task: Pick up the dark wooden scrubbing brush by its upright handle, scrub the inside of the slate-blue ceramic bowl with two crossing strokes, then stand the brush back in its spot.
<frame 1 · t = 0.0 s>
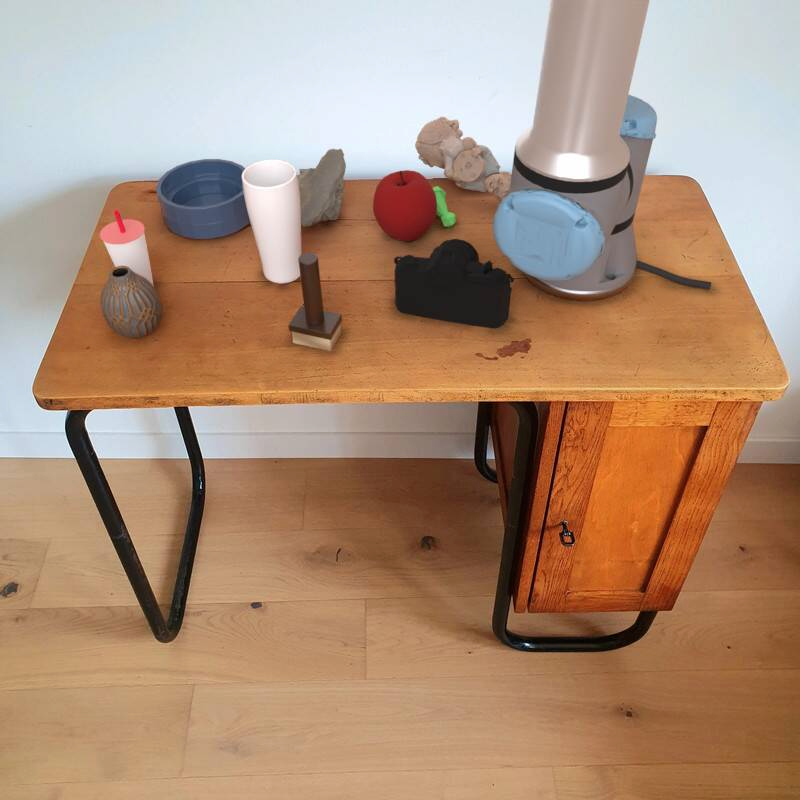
game piece: (430, 197, 113), point 2 cm above the table, touching apple
brush: (317, 338, 95), on the table
drinking glass: (283, 274, 104), on the table
bowl: (211, 216, 114), on the table
film camera: (453, 301, 100), on the table
vase: (139, 329, 97), on the table
cup: (140, 289, 102), on the table
figurine: (432, 135, 120), point 5 cm above the table
apple: (405, 232, 110), on the table, touching game piece
grey rock: (314, 214, 114), on the table
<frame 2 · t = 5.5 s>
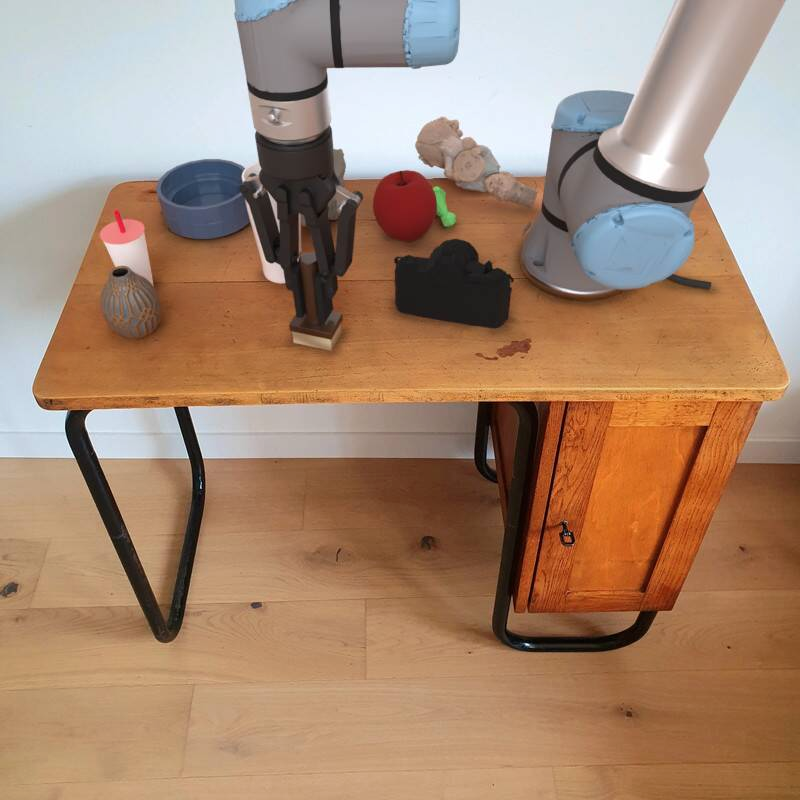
hand: (314, 312, 92), 4 cm above the table, tool pointing down, fingers closed on brush, 2 cm apart
brush: (317, 337, 95), on the table, touching gripper
everything else where it was.
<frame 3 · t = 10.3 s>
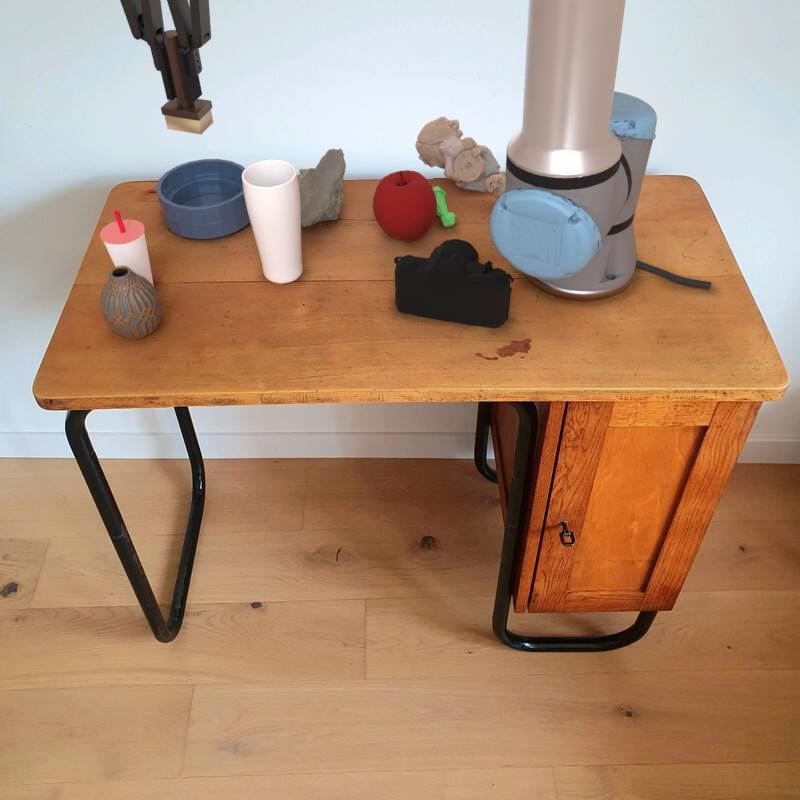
hand: (184, 96, 100), 18 cm above the table, tool pointing down, fingers closed on brush, 2 cm apart
brush: (190, 125, 103), point 14 cm above the table, touching gripper
everything else where it was.
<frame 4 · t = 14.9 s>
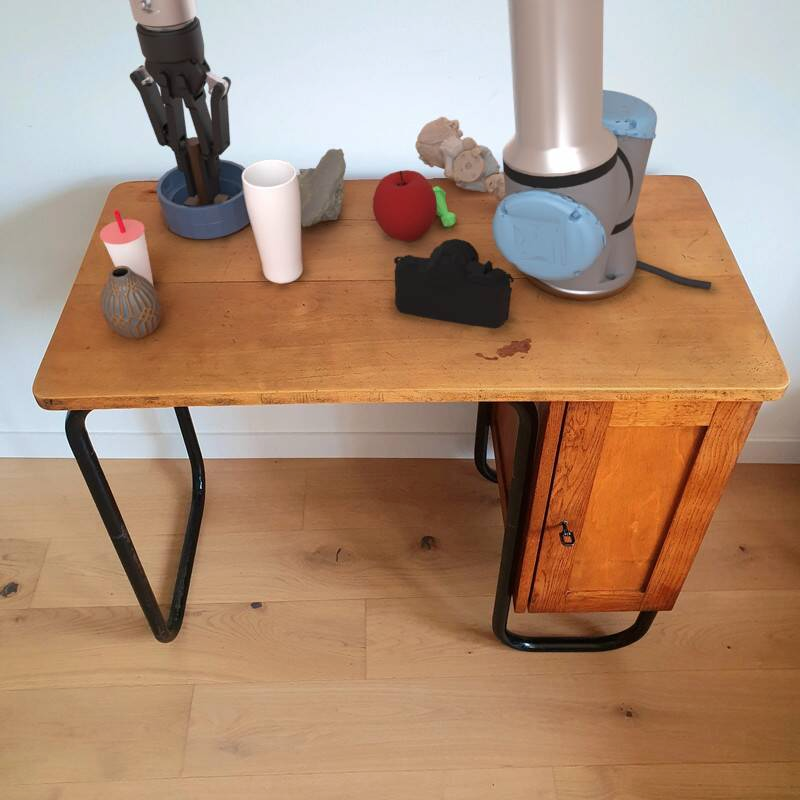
hand: (205, 193, 109), 5 cm above the table, tool pointing down, fingers closed on brush, 2 cm apart
brush: (210, 217, 112), point 1 cm above the table, touching gripper
everything else where it was.
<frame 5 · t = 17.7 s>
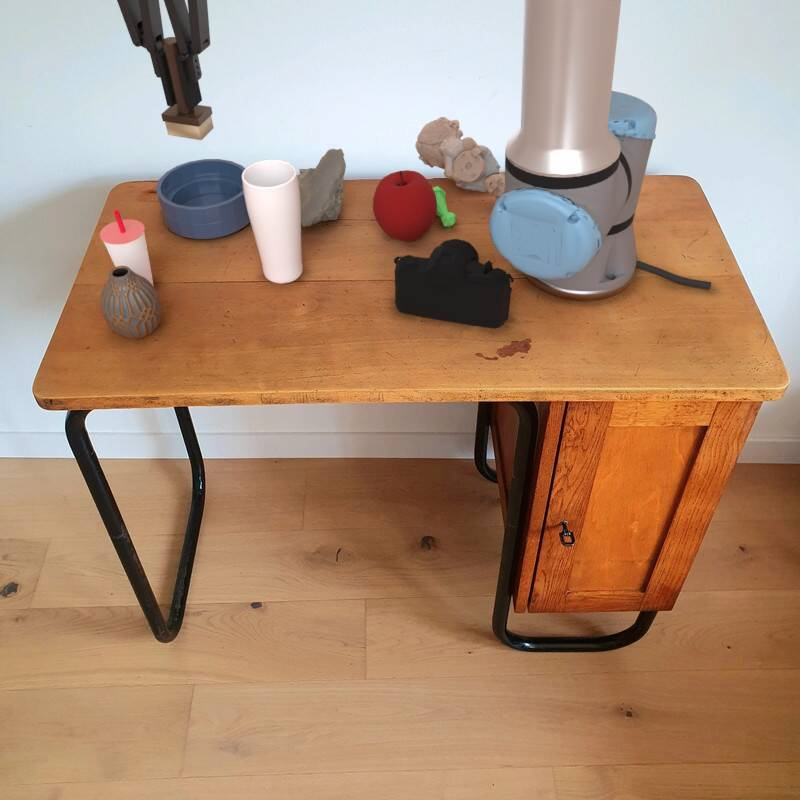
hand: (184, 102, 101), 17 cm above the table, tool pointing down, fingers closed on brush, 2 cm apart
brush: (191, 131, 104), point 13 cm above the table, touching gripper
everything else where it was.
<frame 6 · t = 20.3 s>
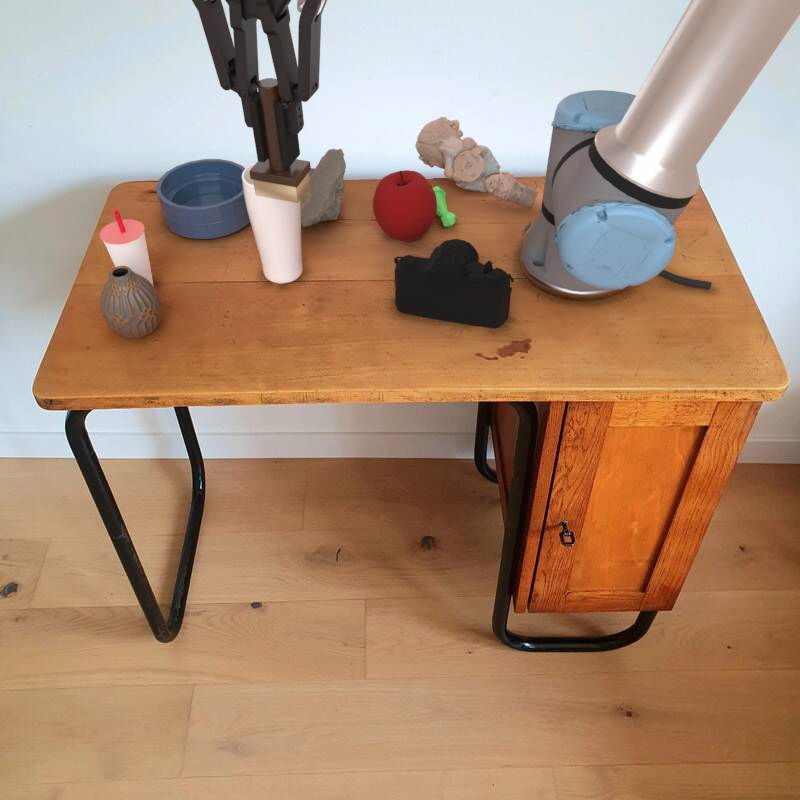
hand: (279, 157, 82), 22 cm above the table, tool pointing down, fingers closed on brush, 2 cm apart
brush: (283, 190, 84), point 18 cm above the table, touching gripper
everything else where it was.
when the fingers open (4 cm above the table, at t = 24.8 s): brush stays where it is, on the table.
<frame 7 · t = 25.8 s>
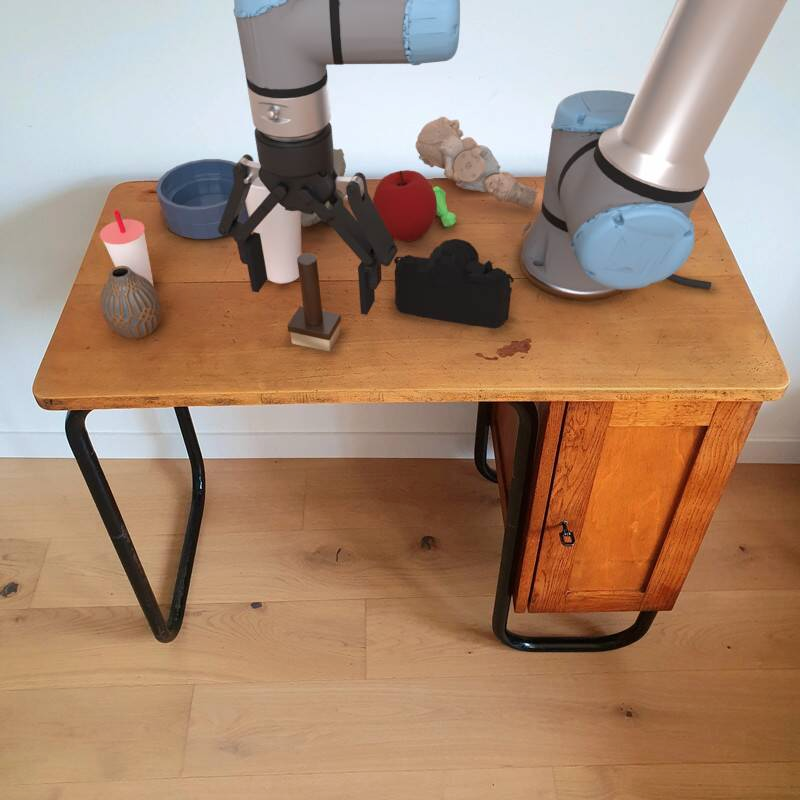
hand: (313, 296, 90), 7 cm above the table, tool pointing down, fingers open, 13 cm apart
brush: (316, 338, 95), on the table
everything else where it was.
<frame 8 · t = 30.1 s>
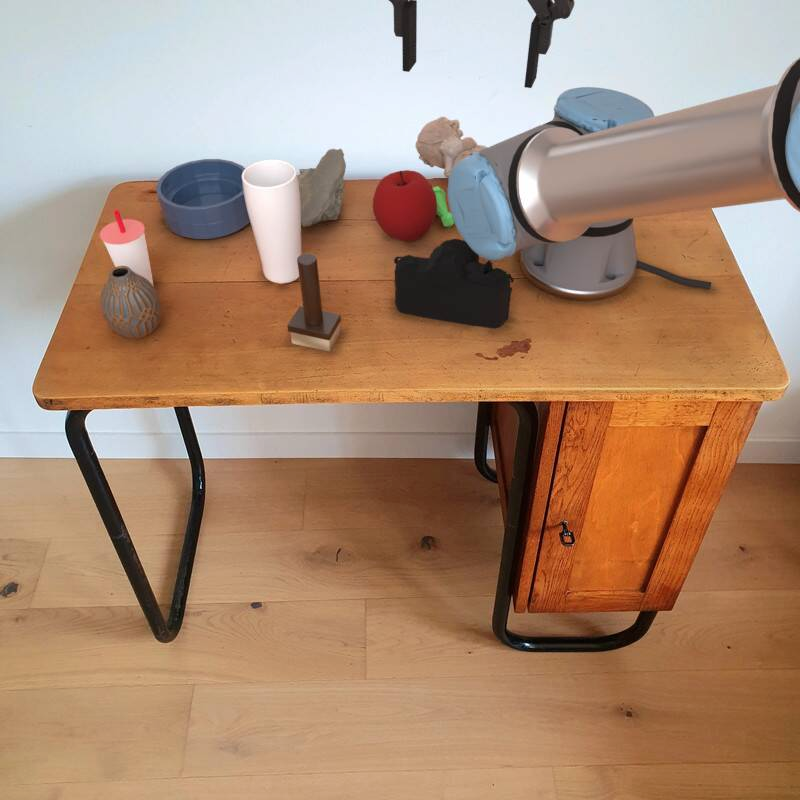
hand: (468, 74, 85), 27 cm above the table, tool pointing down, fingers open, 13 cm apart
nothing on the table moved.
at the end: brush inside the target area (0.1 cm from its centre), on the table; brush tilted 0°; bowl moved 0.0 cm from its start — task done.
